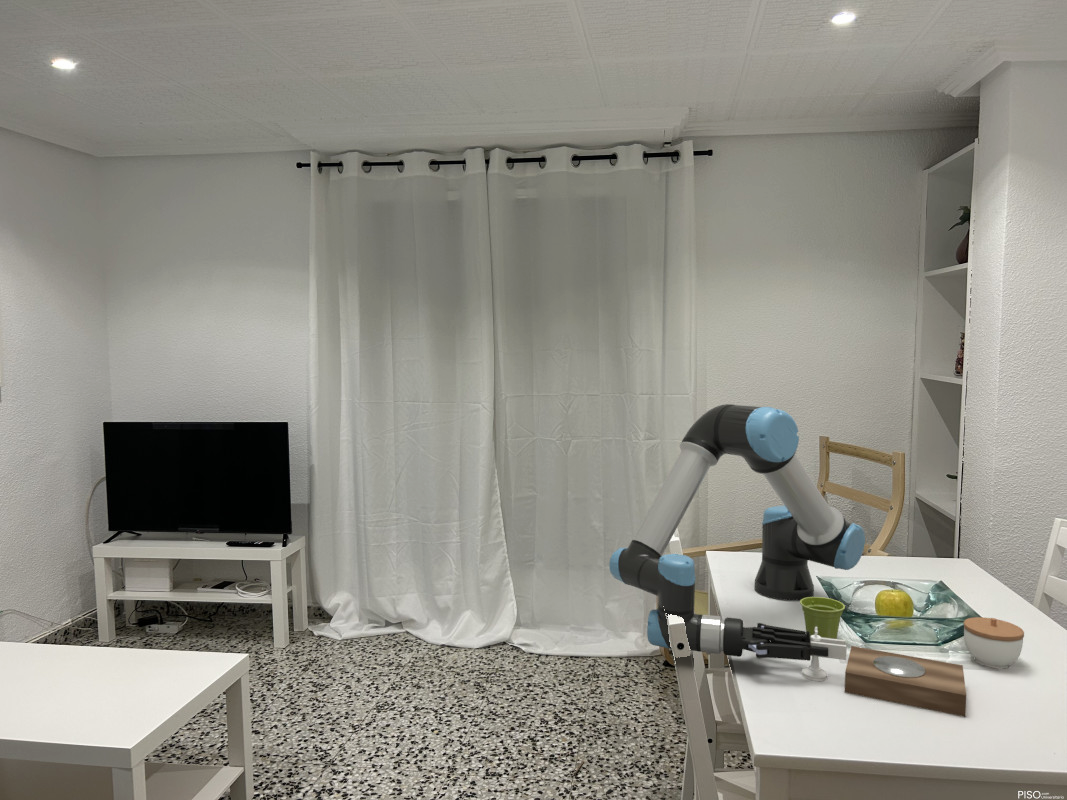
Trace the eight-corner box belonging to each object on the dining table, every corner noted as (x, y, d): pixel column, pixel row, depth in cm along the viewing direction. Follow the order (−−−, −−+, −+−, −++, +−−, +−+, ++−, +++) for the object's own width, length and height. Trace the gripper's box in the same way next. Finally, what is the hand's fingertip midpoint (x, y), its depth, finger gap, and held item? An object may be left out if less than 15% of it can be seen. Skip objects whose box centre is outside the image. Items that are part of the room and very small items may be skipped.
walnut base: (850, 664, 154) (851, 644, 154) (961, 685, 145) (962, 663, 145) (844, 692, 142) (845, 670, 142) (965, 716, 133) (966, 693, 132)
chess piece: (826, 671, 151) (828, 624, 150) (829, 682, 146) (830, 633, 145) (800, 668, 152) (802, 621, 151) (802, 679, 147) (804, 630, 147)
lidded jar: (950, 656, 159) (952, 613, 158) (986, 648, 162) (988, 607, 162) (997, 677, 149) (999, 631, 148) (1034, 668, 152) (1037, 624, 152)
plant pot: (795, 644, 164) (796, 606, 164) (802, 630, 173) (803, 593, 172) (841, 653, 160) (842, 613, 159) (845, 637, 168) (846, 600, 168)
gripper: (724, 639, 162) (841, 653, 154) (720, 668, 147) (848, 684, 140) (725, 605, 161) (842, 618, 154) (721, 631, 147) (850, 646, 140)
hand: (845, 649), depth 147 cm, fingers closed on chess piece, 2 cm apart
